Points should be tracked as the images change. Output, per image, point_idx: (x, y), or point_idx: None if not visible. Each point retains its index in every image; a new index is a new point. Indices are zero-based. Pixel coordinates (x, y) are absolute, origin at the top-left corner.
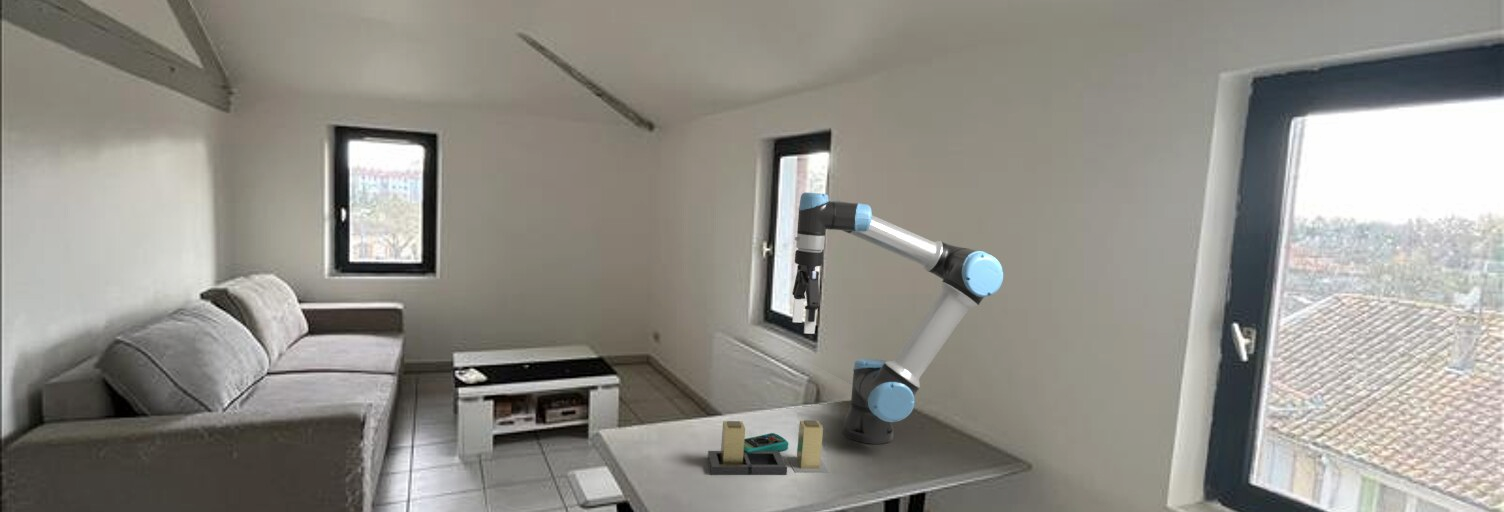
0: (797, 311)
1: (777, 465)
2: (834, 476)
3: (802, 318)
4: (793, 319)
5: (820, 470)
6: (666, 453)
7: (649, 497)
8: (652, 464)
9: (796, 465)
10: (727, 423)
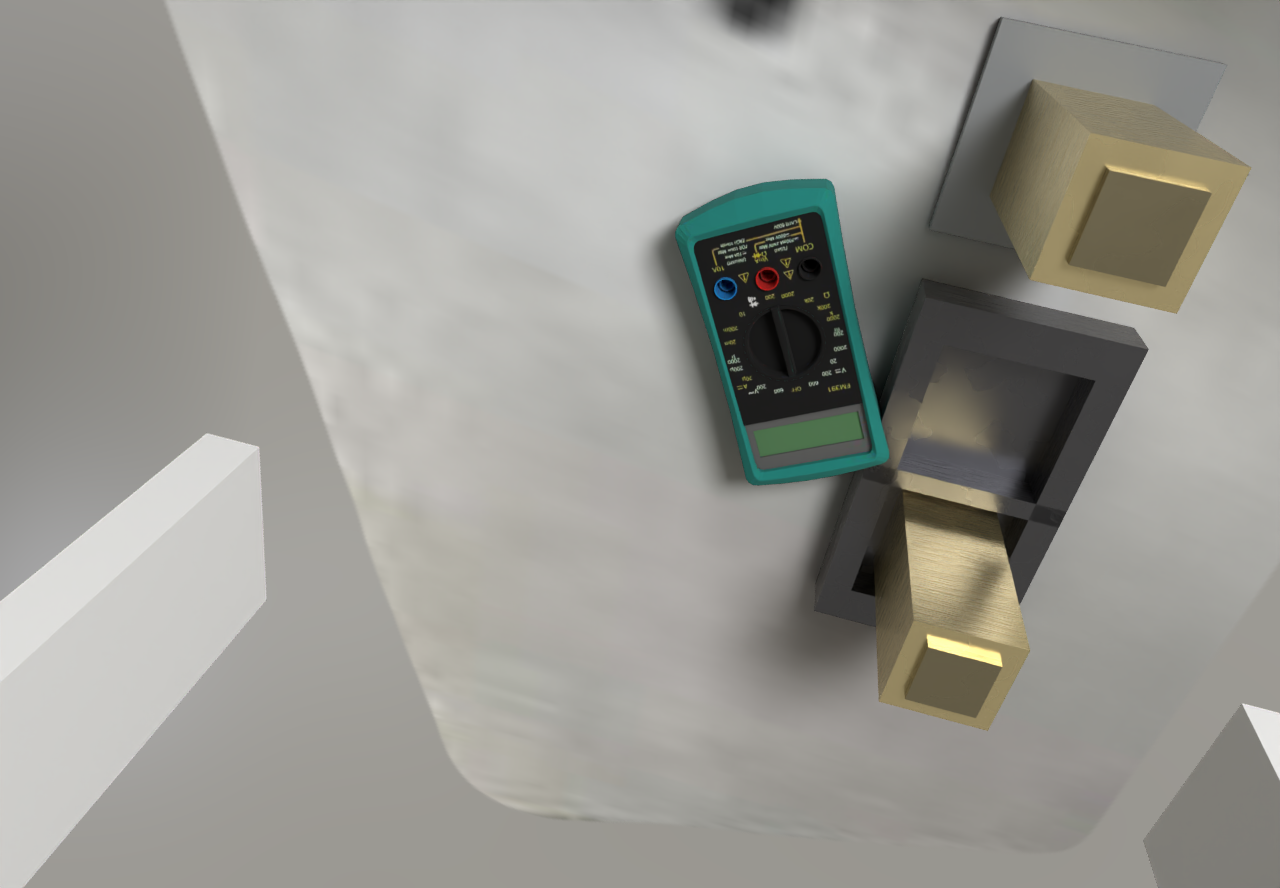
0: (117, 701)
1: (1103, 388)
2: (1268, 38)
3: (206, 494)
4: (235, 628)
5: (1180, 111)
6: (708, 690)
7: (1065, 844)
8: (798, 759)
9: None
10: (923, 698)
